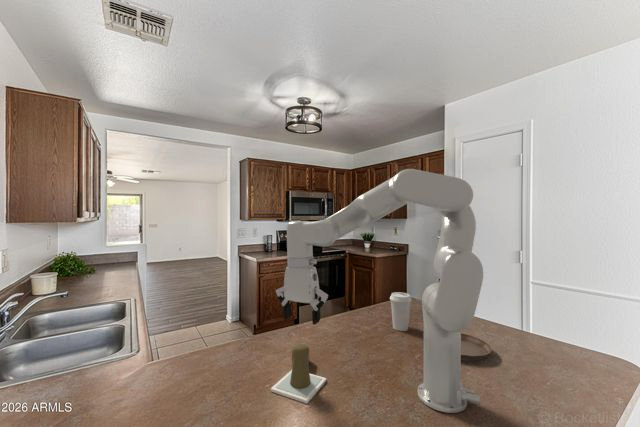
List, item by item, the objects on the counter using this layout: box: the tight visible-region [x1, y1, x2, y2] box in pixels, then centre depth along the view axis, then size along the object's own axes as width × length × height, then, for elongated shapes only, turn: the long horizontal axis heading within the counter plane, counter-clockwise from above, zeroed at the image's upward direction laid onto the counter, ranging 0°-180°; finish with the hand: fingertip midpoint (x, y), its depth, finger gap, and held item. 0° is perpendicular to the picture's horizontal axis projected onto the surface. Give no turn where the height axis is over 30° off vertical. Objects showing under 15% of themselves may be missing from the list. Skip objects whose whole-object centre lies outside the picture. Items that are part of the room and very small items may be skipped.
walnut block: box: [291, 346, 310, 366], centre depth 98 cm, size 5×5×5 cm
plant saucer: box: [461, 332, 492, 362], centre depth 109 cm, size 21×21×3 cm
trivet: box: [270, 369, 327, 405], centre depth 86 cm, size 12×12×1 cm
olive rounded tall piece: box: [290, 343, 311, 389], centre depth 86 cm, size 6×6×11 cm
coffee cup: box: [389, 291, 412, 332], centre depth 129 cm, size 10×10×15 cm
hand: (301, 320), depth 86 cm, fingers open, 9 cm apart
